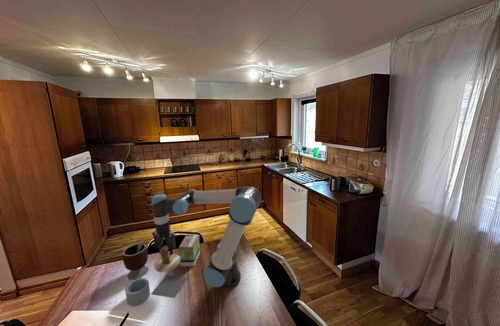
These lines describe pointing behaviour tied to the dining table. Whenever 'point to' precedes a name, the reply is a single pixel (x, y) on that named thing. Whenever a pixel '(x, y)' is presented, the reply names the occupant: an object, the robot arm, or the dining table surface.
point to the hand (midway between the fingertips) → (167, 259)
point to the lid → (166, 261)
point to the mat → (169, 286)
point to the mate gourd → (136, 260)
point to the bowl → (137, 291)
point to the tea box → (189, 250)
